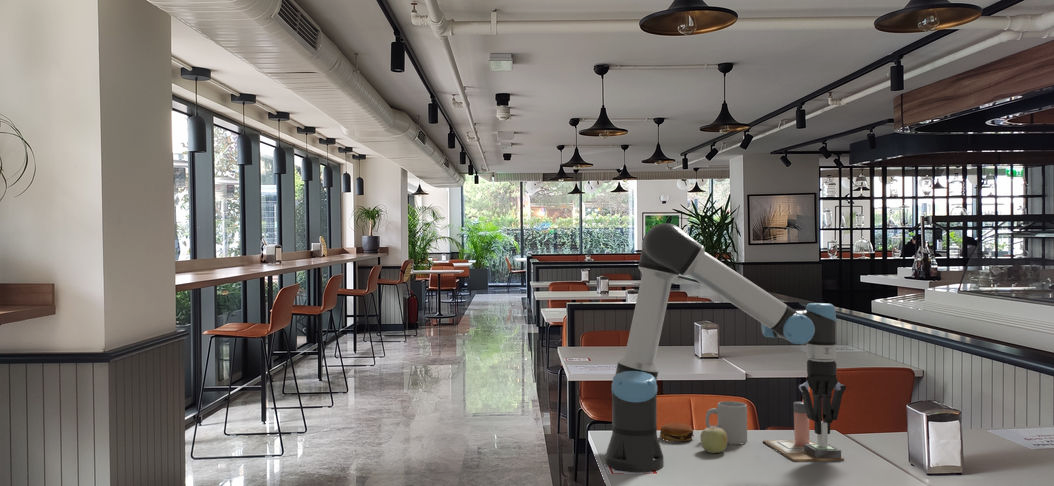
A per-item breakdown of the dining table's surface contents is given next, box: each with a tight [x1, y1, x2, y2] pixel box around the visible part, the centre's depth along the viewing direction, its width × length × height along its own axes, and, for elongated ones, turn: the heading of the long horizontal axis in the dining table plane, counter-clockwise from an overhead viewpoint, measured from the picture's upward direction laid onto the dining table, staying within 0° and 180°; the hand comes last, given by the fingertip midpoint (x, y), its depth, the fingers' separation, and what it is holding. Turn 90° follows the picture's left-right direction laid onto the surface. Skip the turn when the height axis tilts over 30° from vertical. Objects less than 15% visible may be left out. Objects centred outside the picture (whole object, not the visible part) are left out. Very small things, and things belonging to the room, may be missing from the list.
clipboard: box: [762, 439, 845, 463], centre depth 199 cm, size 14×20×3 cm
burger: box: [659, 422, 695, 442], centre depth 213 cm, size 10×9×5 cm
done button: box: [810, 445, 835, 450], centre depth 193 cm, size 5×5×2 cm
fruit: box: [700, 423, 728, 454], centre depth 198 cm, size 8×7×8 cm
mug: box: [705, 400, 748, 445], centre depth 211 cm, size 12×8×11 cm
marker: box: [793, 401, 811, 447], centre depth 203 cm, size 4×4×12 cm
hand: (822, 445), depth 193 cm, fingers closed
